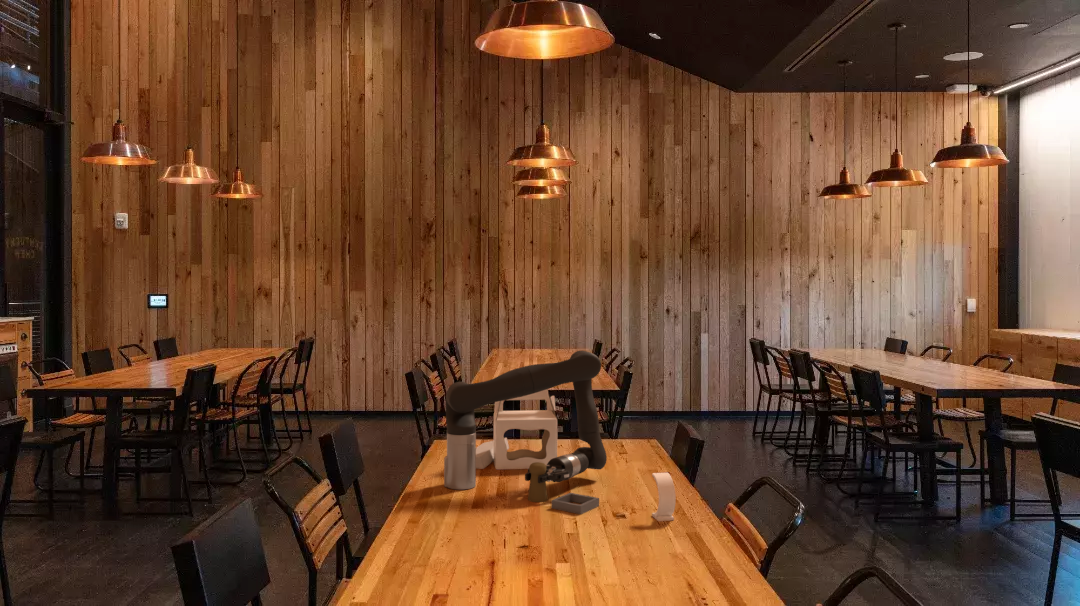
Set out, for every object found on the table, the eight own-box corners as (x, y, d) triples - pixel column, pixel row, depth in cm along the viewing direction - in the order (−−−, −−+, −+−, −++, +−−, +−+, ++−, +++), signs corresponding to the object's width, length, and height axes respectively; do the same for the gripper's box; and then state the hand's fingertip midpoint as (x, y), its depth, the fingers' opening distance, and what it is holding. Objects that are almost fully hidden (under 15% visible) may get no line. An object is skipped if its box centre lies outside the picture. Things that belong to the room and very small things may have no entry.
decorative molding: (458, 475, 262) (484, 469, 260) (454, 462, 263) (480, 456, 260) (486, 454, 296) (509, 449, 293) (483, 442, 296) (506, 437, 294)
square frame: (551, 508, 214) (551, 500, 214) (570, 500, 222) (570, 492, 222) (580, 514, 208) (581, 506, 208) (599, 505, 216) (599, 498, 216)
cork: (527, 496, 226) (527, 460, 225) (546, 496, 226) (546, 460, 226) (528, 502, 220) (528, 465, 219) (548, 501, 220) (548, 465, 220)
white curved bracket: (667, 514, 208) (667, 472, 208) (675, 521, 202) (675, 477, 202) (651, 515, 207) (652, 473, 207) (659, 522, 201) (660, 478, 201)
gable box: (552, 459, 275) (552, 384, 275) (557, 468, 262) (558, 389, 261) (492, 461, 272) (493, 385, 272) (495, 469, 259) (495, 390, 259)
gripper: (545, 452, 238) (513, 462, 224) (583, 458, 230) (552, 469, 216) (545, 475, 239) (513, 487, 224) (582, 482, 230) (552, 495, 216)
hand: (532, 478), depth 220 cm, fingers closed on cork, 4 cm apart
